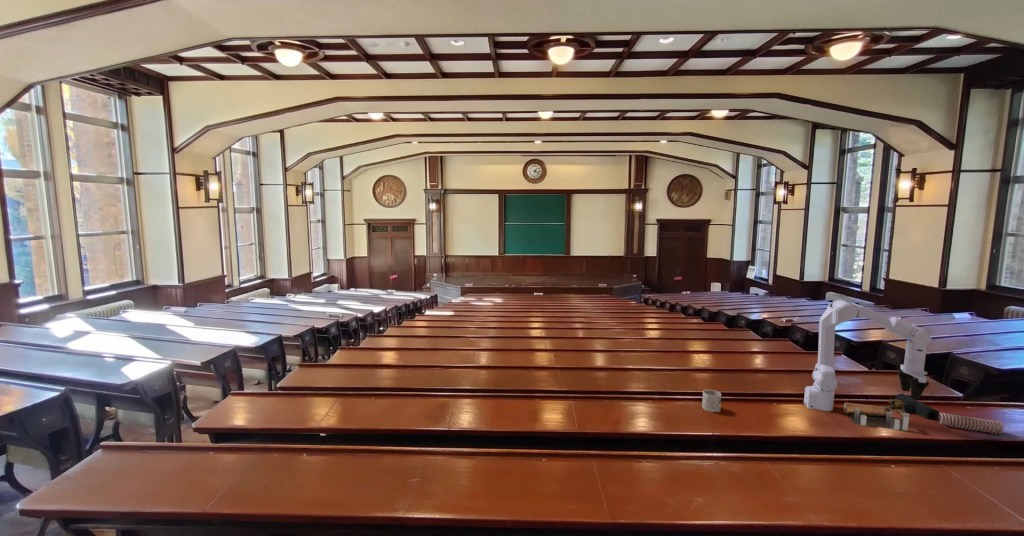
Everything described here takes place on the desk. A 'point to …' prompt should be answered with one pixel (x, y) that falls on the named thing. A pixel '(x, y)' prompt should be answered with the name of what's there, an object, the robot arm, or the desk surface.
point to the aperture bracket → (904, 420)
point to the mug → (711, 400)
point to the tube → (867, 410)
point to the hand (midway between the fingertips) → (910, 394)
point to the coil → (970, 423)
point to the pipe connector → (912, 406)
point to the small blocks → (888, 418)
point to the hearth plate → (874, 421)
